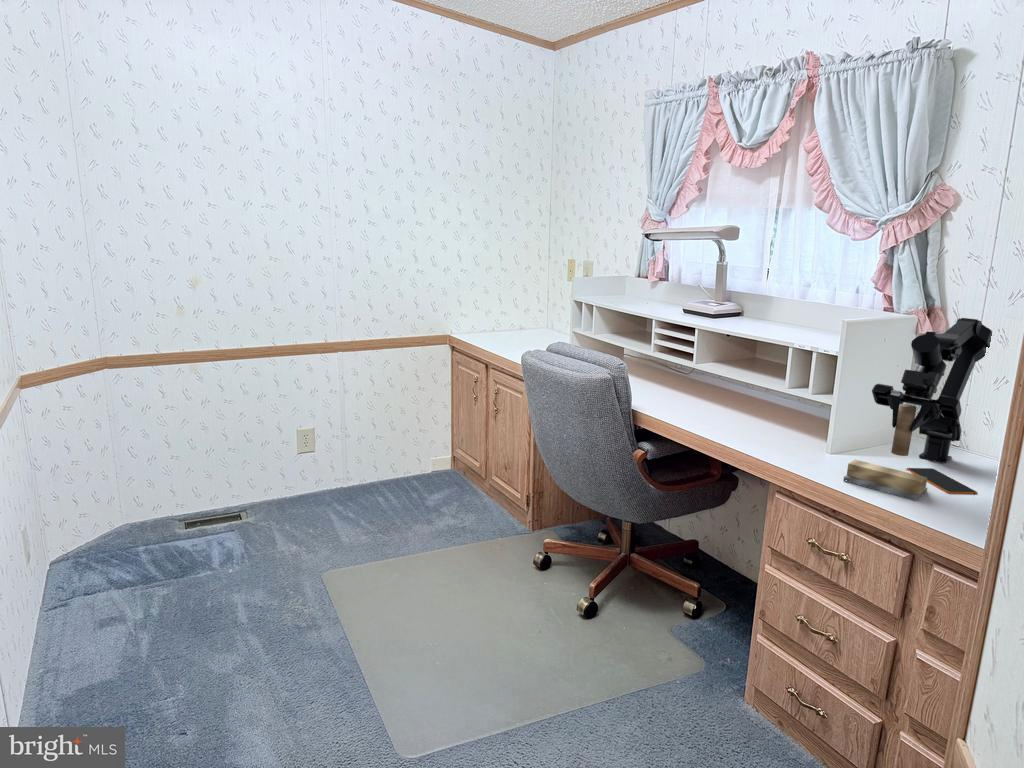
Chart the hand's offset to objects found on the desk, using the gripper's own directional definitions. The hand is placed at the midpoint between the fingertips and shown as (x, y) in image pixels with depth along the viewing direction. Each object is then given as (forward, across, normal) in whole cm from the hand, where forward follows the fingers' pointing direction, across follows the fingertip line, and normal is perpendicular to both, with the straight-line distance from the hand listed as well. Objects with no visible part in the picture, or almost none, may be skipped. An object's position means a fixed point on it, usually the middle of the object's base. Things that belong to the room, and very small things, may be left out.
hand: (902, 428), depth 163 cm
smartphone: (+3, +7, +17) cm, 19 cm away
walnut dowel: (+4, 0, +6) cm, 7 cm away
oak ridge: (+13, 0, +6) cm, 14 cm away
